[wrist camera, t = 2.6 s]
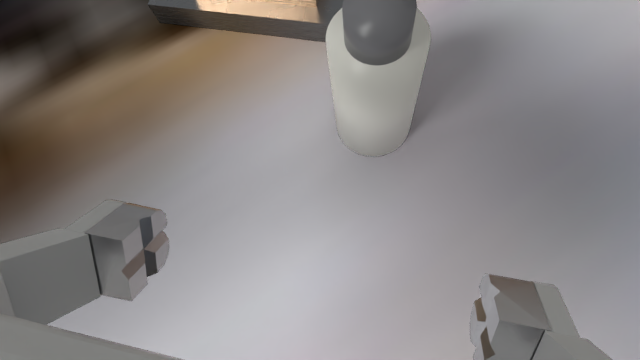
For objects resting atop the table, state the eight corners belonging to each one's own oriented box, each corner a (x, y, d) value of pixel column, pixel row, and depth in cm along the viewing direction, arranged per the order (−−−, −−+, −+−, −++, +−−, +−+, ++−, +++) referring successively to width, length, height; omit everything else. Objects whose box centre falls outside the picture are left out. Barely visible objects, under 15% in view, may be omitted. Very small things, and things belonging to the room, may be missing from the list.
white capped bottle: (329, 150, 28) (310, 48, 18) (343, 86, 30) (333, -42, 19) (404, 162, 27) (430, 62, 17) (414, 95, 29) (444, -33, 18)
